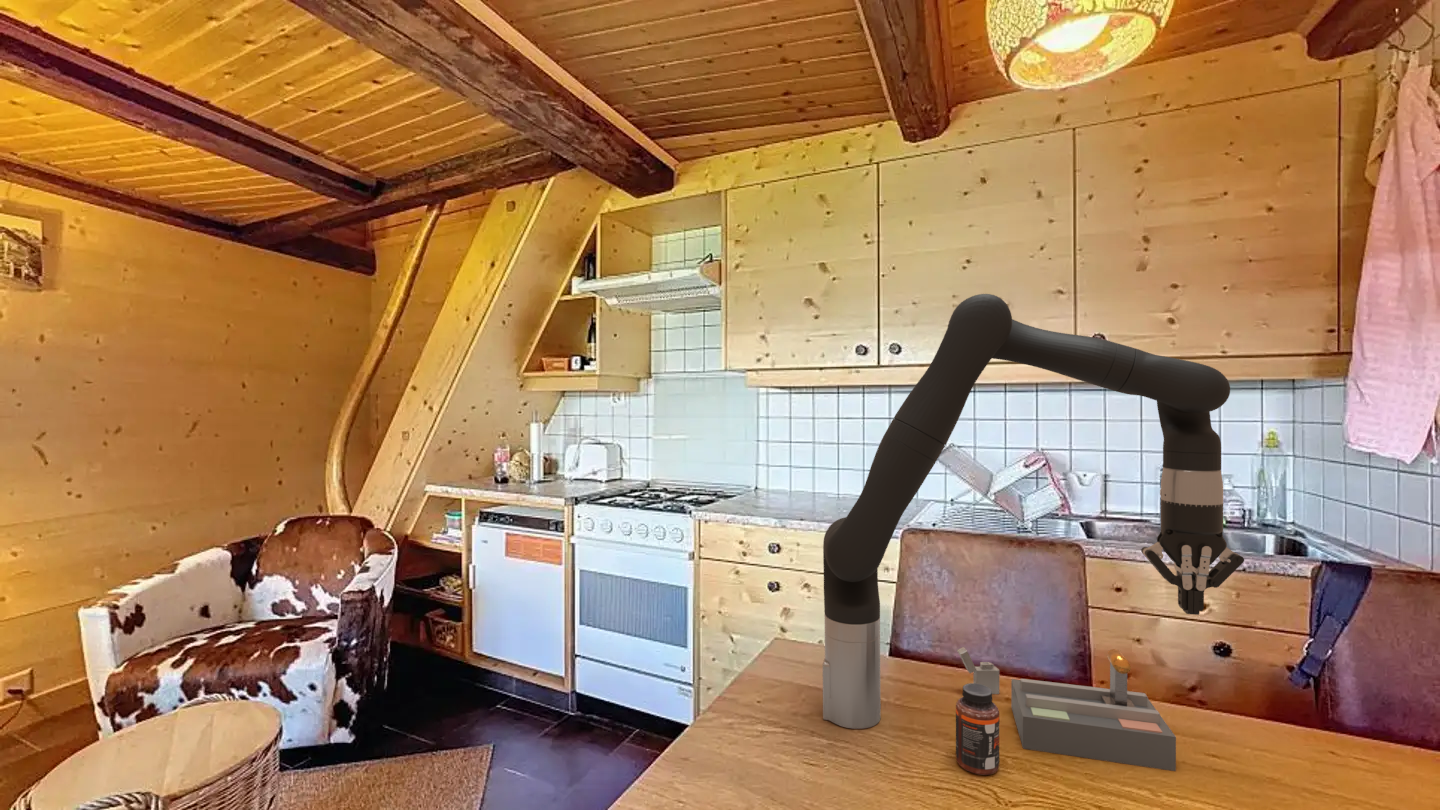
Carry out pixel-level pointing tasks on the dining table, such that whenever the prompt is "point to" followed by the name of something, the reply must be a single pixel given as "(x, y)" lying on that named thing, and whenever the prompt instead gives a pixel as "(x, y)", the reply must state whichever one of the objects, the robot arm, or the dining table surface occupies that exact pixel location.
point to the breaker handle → (1118, 680)
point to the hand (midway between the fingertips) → (1190, 612)
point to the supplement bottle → (977, 730)
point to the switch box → (1091, 724)
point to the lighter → (981, 672)
